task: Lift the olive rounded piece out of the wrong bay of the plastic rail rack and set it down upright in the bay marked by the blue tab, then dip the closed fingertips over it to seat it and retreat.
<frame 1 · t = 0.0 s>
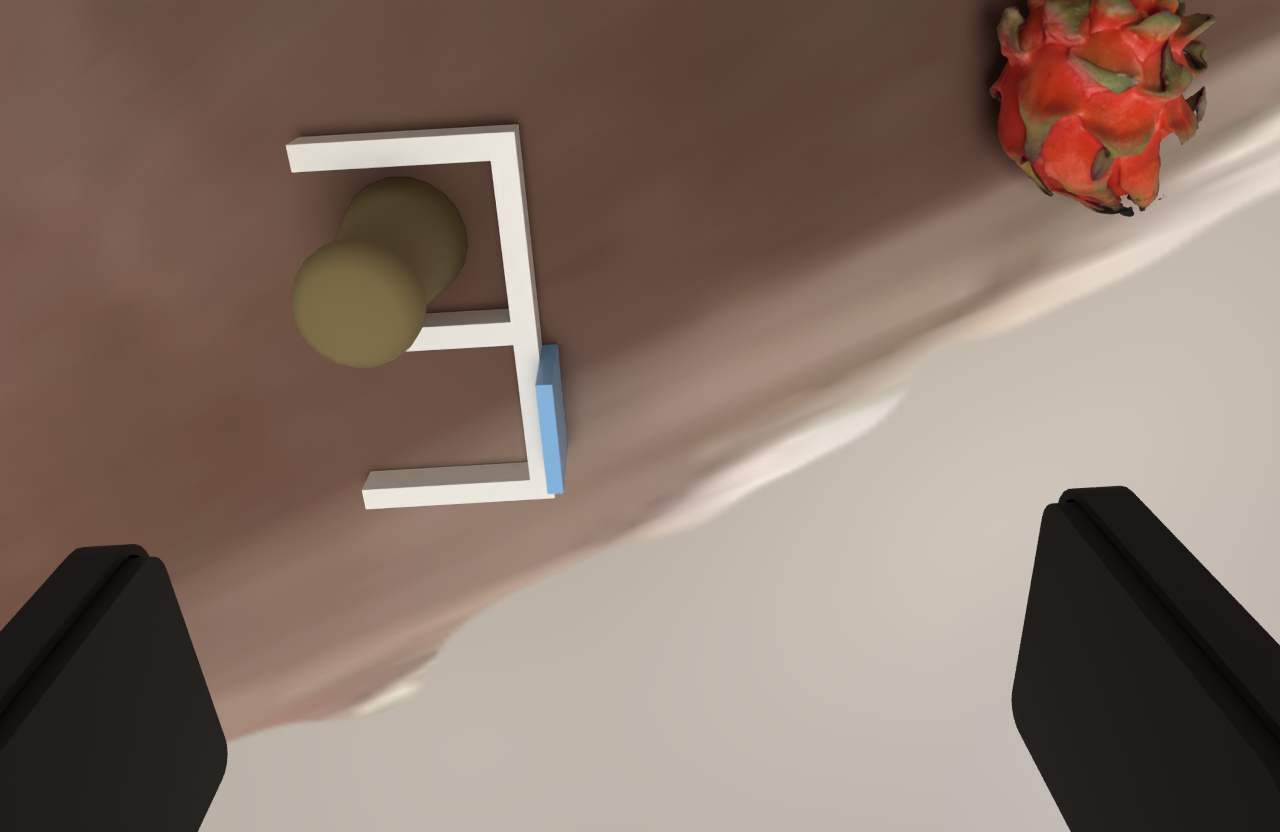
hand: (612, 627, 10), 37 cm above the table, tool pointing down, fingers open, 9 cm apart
olive rounded piece: (406, 237, 46), on the table
rail rack: (439, 323, 47), on the table
dragon fruit: (1062, 82, 43), on the table
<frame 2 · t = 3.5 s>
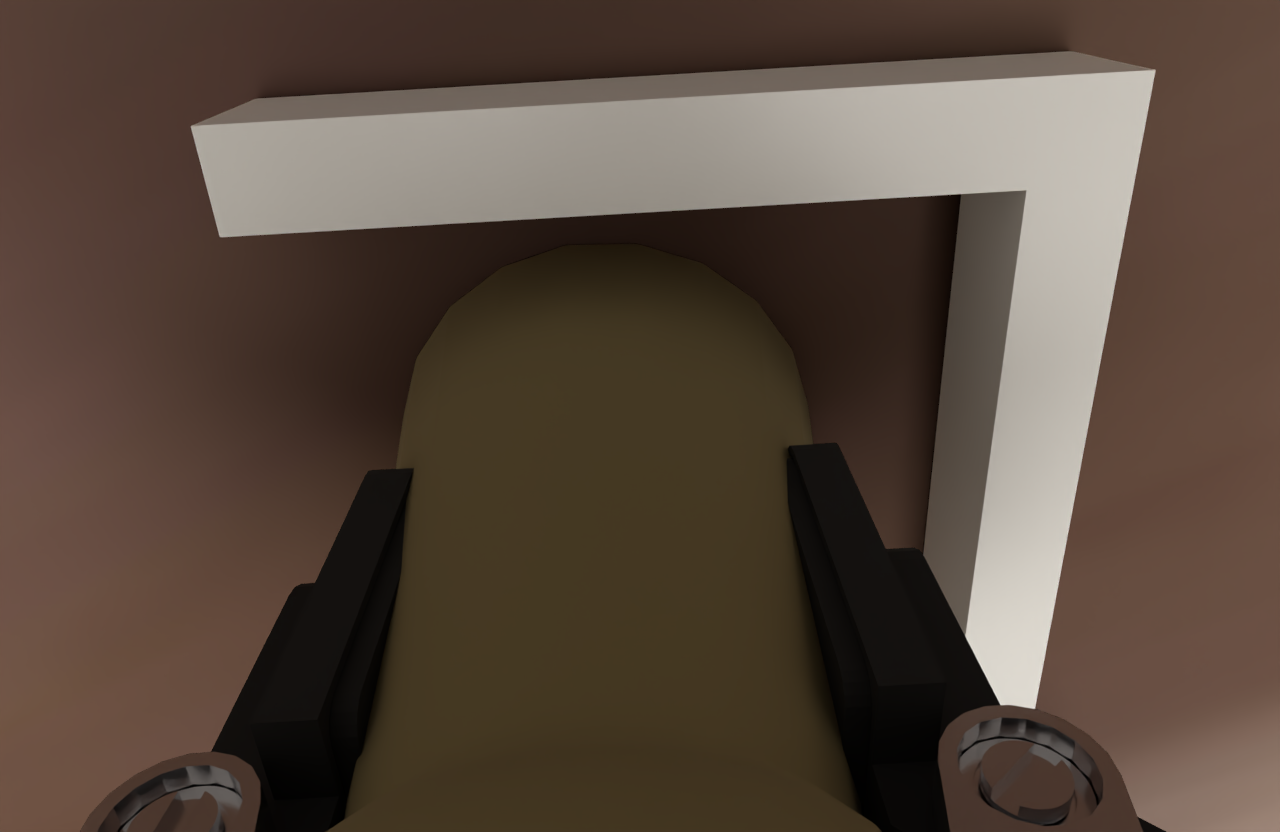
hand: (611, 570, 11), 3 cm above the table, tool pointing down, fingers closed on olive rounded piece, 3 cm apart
olive rounded piece: (607, 432, 14), on the table, touching gripper
rail rack: (686, 665, 16), on the table
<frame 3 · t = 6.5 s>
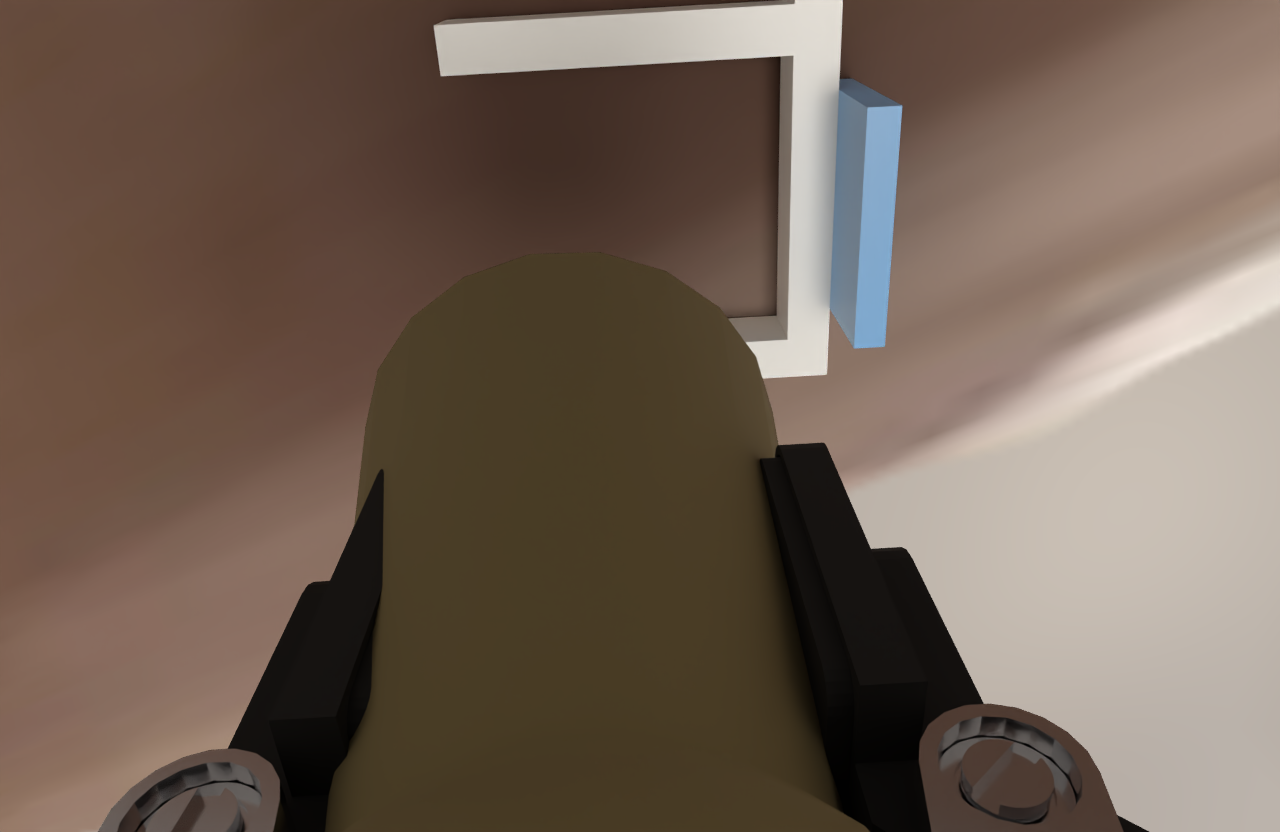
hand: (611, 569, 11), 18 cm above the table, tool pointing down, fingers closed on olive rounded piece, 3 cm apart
olive rounded piece: (573, 441, 14), point 15 cm above the table, touching gripper
rail rack: (637, 32, 25), on the table
when the fingers open (5 cm above the table, at t = 9.5 s): olive rounded piece drops 1 cm, on the table.
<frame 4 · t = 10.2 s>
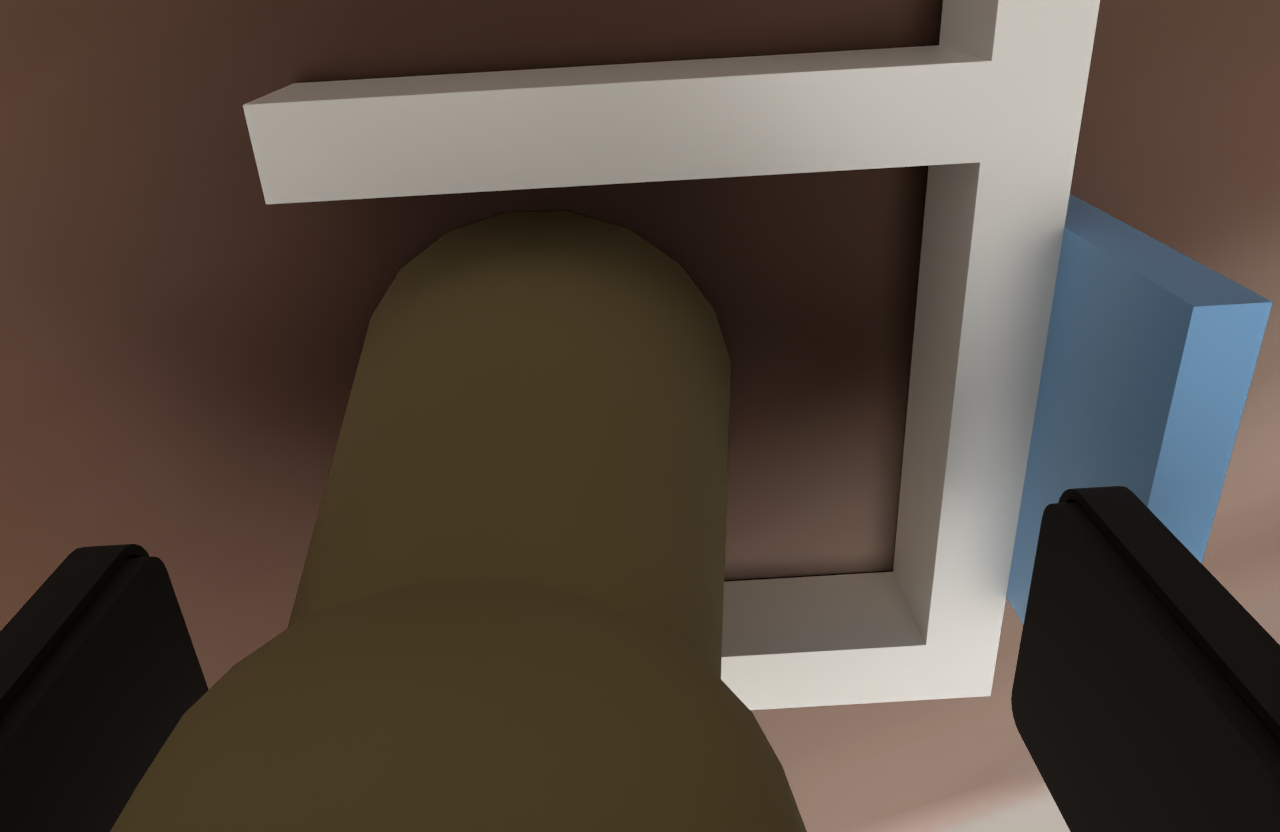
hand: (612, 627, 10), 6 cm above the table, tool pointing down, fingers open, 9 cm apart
olive rounded piece: (548, 387, 15), on the table
rail rack: (661, 106, 13), on the table
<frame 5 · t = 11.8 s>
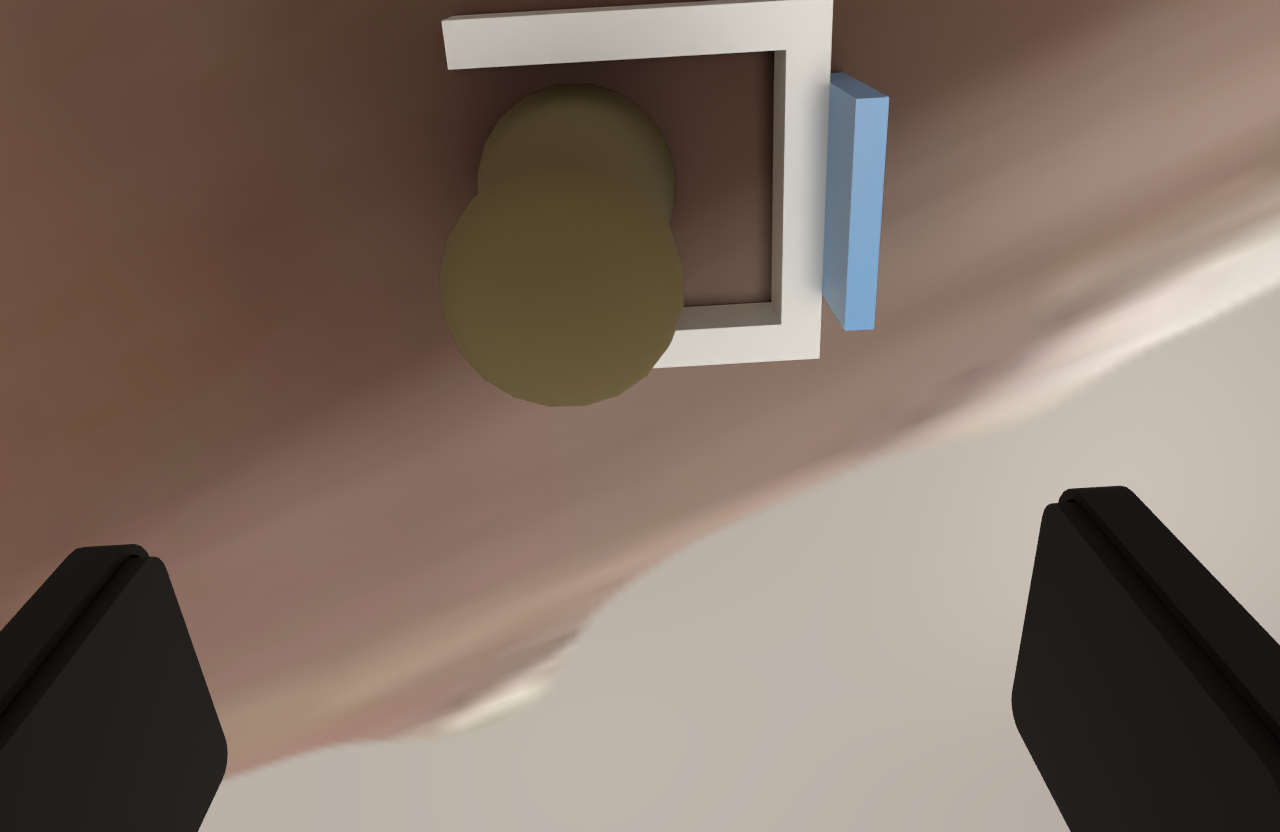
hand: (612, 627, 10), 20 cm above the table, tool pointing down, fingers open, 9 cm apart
olive rounded piece: (577, 186, 28), on the table
rail rack: (636, 28, 26), on the table
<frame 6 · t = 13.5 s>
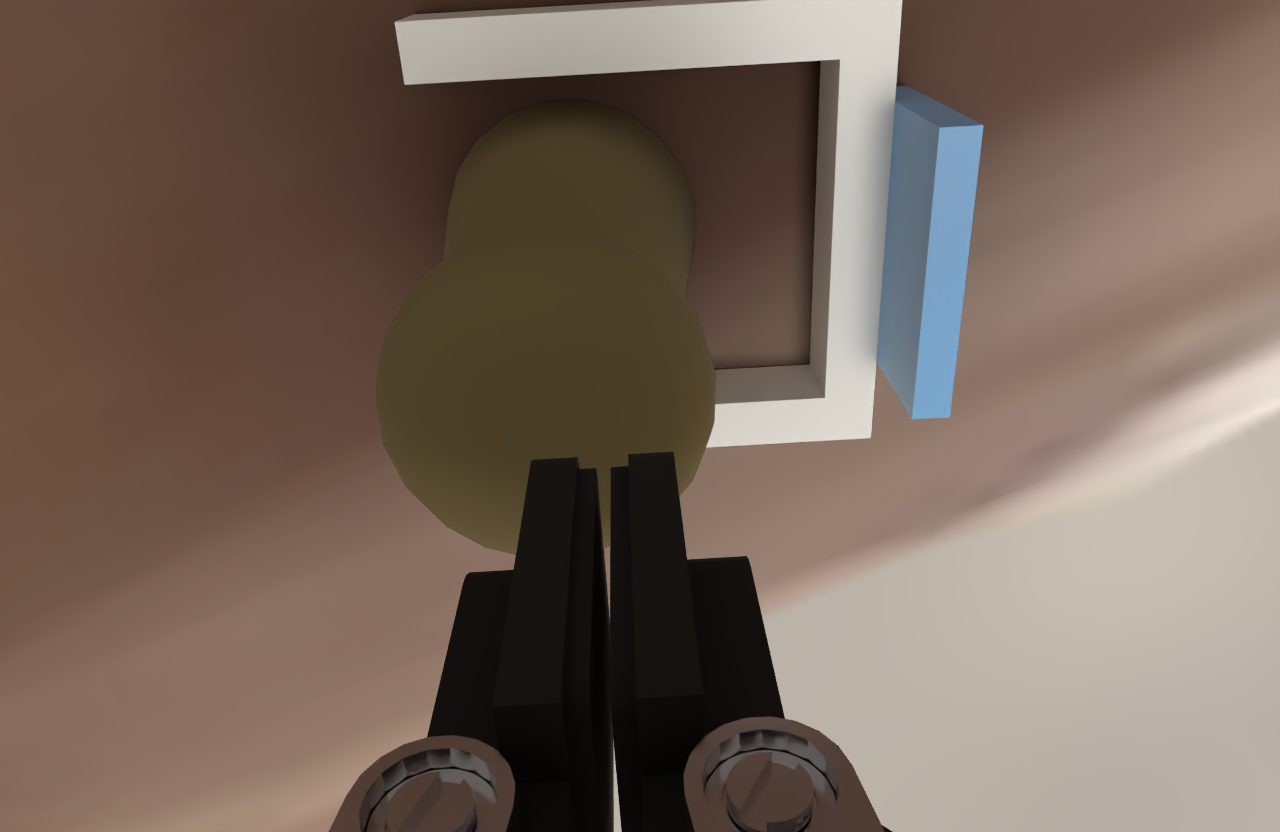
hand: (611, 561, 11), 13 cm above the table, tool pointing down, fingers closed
olive rounded piece: (572, 225, 23), on the table
rail rack: (646, 30, 21), on the table
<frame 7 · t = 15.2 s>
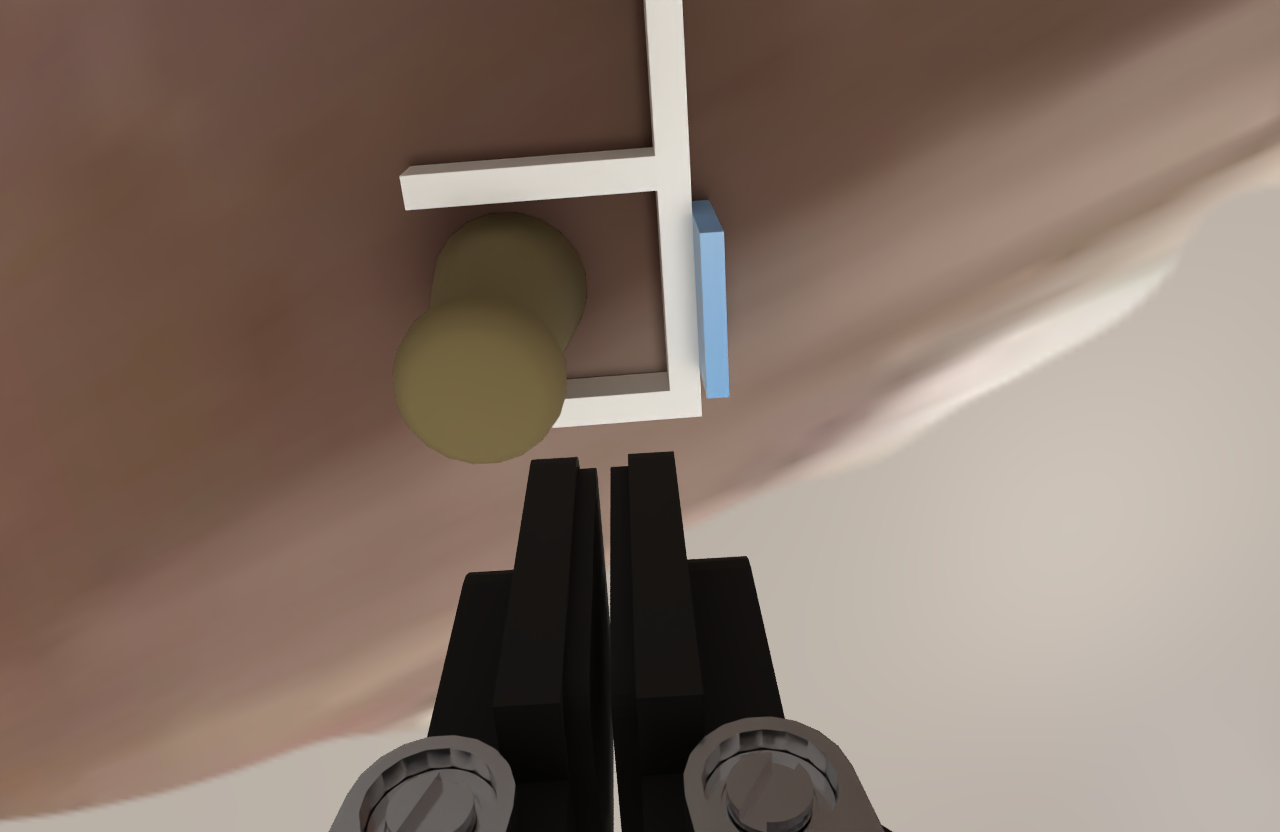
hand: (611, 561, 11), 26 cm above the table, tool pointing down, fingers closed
olive rounded piece: (510, 287, 37), on the table
rail rack: (549, 171, 34), on the table
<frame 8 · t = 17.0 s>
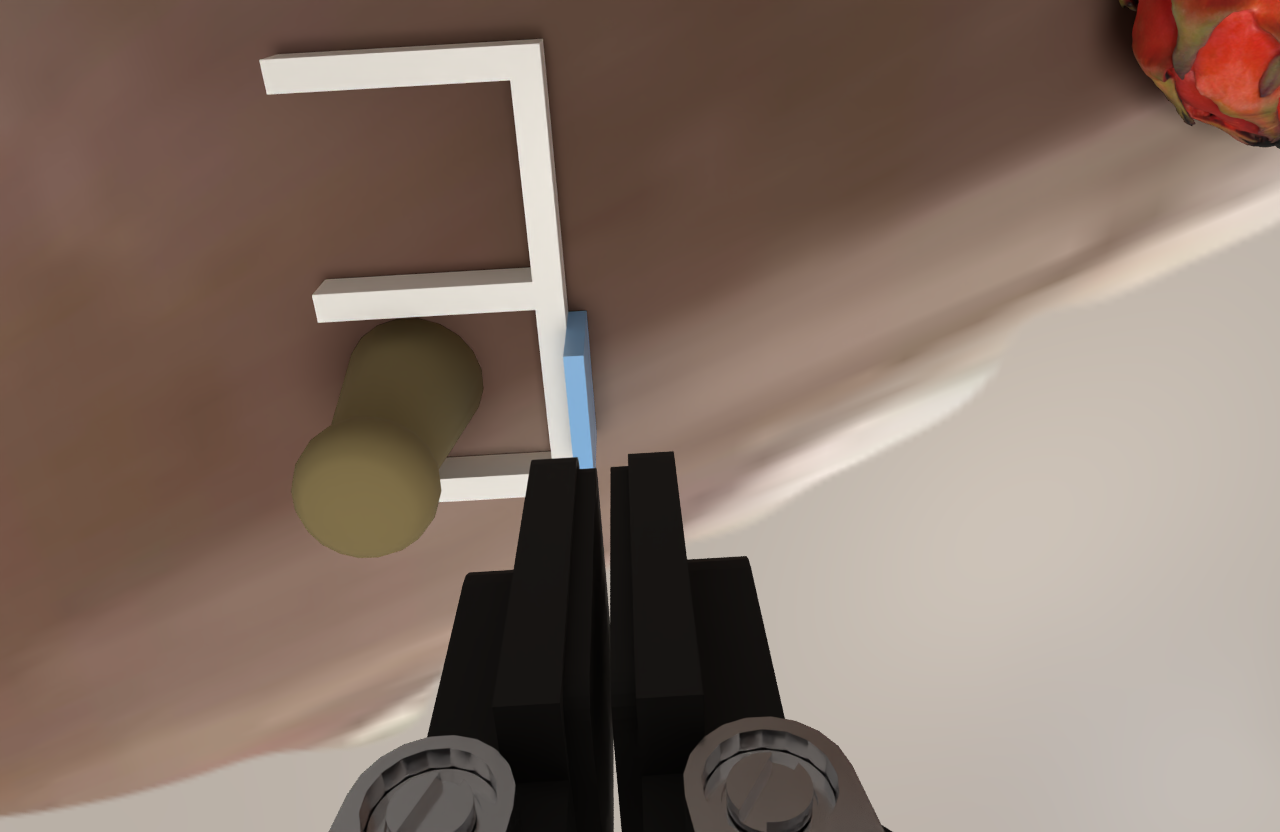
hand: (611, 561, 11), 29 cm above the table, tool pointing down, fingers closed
olive rounded piece: (416, 379, 42), on the table
rail rack: (446, 285, 40), on the table
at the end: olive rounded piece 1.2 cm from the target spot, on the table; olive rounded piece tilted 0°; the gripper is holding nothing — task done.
